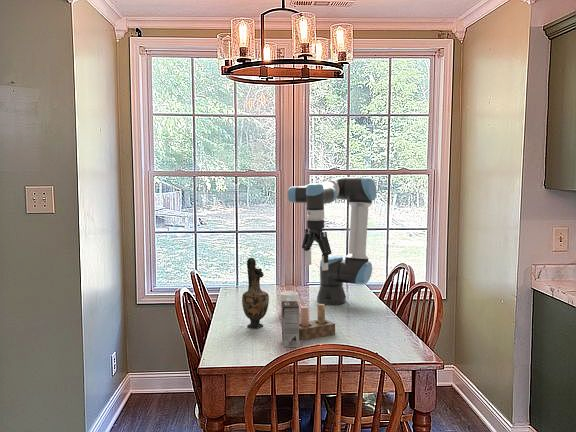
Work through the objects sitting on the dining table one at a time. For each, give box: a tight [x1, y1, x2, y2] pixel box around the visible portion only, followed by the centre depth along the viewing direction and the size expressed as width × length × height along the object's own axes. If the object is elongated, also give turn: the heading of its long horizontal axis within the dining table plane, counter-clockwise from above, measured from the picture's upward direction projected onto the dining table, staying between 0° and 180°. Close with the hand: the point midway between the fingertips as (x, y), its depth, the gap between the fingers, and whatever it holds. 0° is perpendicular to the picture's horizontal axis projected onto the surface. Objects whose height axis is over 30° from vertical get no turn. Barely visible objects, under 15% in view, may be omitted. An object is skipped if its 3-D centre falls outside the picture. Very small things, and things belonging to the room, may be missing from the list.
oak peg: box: [316, 303, 326, 325], centre depth 231 cm, size 3×3×12 cm
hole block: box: [299, 318, 336, 341], centre depth 229 cm, size 16×9×4 cm, turn 118°
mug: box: [279, 290, 299, 316], centre depth 258 cm, size 12×8×10 cm
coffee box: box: [280, 301, 300, 348], centre depth 217 cm, size 9×6×16 cm
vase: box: [241, 257, 270, 330], centre depth 241 cm, size 12×12×30 cm
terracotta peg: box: [300, 305, 310, 327], centre depth 227 cm, size 3×3×12 cm
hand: (316, 267), depth 240 cm, fingers open, 13 cm apart
